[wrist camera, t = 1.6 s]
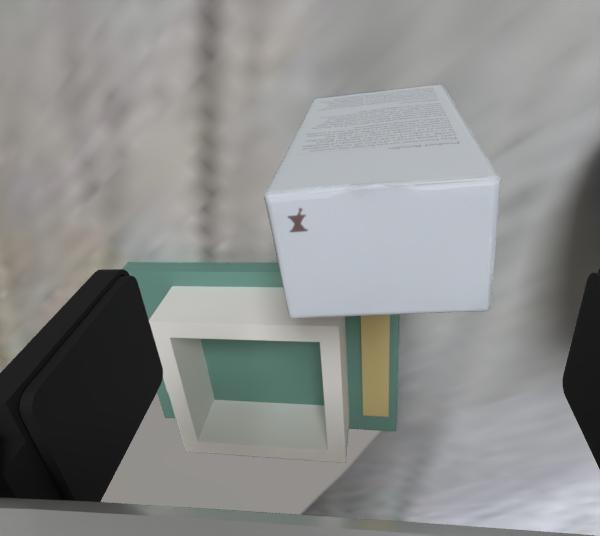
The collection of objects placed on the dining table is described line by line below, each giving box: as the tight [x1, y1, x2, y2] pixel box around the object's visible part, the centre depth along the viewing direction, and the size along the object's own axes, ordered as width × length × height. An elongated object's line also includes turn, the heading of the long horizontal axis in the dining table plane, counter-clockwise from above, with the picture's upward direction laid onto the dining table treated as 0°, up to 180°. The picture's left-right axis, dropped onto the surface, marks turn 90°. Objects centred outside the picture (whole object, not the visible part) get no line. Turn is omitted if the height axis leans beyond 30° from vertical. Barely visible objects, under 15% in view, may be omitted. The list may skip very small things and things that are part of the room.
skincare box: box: [264, 85, 501, 319], centre depth 18 cm, size 6×4×12 cm
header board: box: [123, 263, 399, 463], centre depth 29 cm, size 16×12×4 cm
